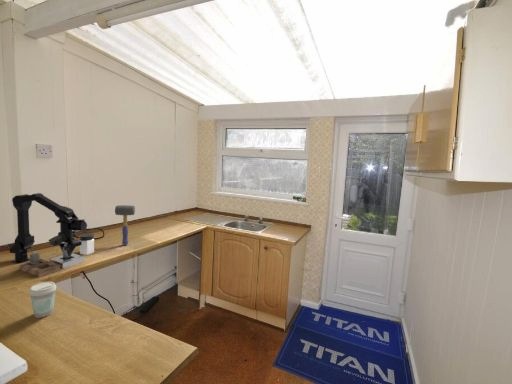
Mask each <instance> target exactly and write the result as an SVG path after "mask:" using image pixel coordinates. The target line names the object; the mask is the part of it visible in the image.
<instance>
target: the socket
mask: <svg viewBox="0 0 512 384" xmlns="http://www.w3.org/2000/svg"><path fill="white" fill-rule="evenodd" d="M49 262H53V263H56V264H59V265H60V269H65V268H68V267H71V266H74V265H76V264H77V265H78V264H81V263H83V262H85V255H84V256H83V255H81V254H77V253H73V252H72V254H71V259H68V260H63V254H61V255H59V256H56V257H52V258H49Z"/></svg>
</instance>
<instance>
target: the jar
mask: <svg viewBox="0 0 512 384" xmlns="http://www.w3.org/2000/svg"><path fill="white" fill-rule="evenodd" d="M78 237H79V238H78V240H80V241H81V242H82V245H80V246H79V255H80V256H83V255H84V256H85V255H86V256H89V255H91V254H93V253H94V254H95V234H94V233H83V234H80V235H78Z"/></svg>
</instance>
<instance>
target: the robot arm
mask: <svg viewBox="0 0 512 384" xmlns="http://www.w3.org/2000/svg"><path fill="white" fill-rule="evenodd" d="M11 202H12V206H13V207H14V208H15V210H16V215H17V217H16V218H17V236H16V238H15V239H14V242H13V244H14V245H12V246H11V247H10V248H9V250H8V251H9V253H10V254H14V259H12V260H11V262H13V263H16V264H22V263H26V262H29V261H30V257H29V256H28V253H29V252H28V250H29V249H32V246H33V245H34V243H35V235H32V234H31V233H30V215H29V212H30V210H29V209H30V208H31V207H32V205H33V202H36V203H38V204H39V205H41V206H43V207H45V208H46V209H48V210H49V211H51V212H53V214H54V216H56V217H57V218H58V220H57V221H56V222H55V223H57V224H59V225H60V226H59V227H60V228H59V229H60V231H59V232H58V233H57V235H55V236H54V237H51V238H49V239H48V242H49V244H50V246H53V247H56V246H59V248H60V250H61V252H62V253H63V246H64V244H67V246H64V247H66V248H67V252H68V256H71V254H72V253H73V252H74V250H75V249H76V247H80V245H82V242H81V241H80V240H79V239H75V237H73V234H74V233H75V231H76V232H85V231H86V230H87V228H88V223H87V222H86V221H85V220H86V219H84V218H83V219H79V217H78V216H77V214H76V213H75V211H74V210H73V208H70V207H67V206H63V205H60V204H58V203H56V202H55V201H54V200H51V199H50V198H49V197H47V196H45V195H44V194H42V193H39V192H37V193H32V194H27V193H25V194H18V195H15V196H13V197H12V200H11Z"/></svg>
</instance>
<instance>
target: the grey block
mask: <svg viewBox="0 0 512 384" xmlns="http://www.w3.org/2000/svg"><path fill="white" fill-rule="evenodd" d="M64 246H67V244H64ZM64 246H63V252H62V255H63V260H68V259H71V256H68V252H67V248H66V247H64Z"/></svg>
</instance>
